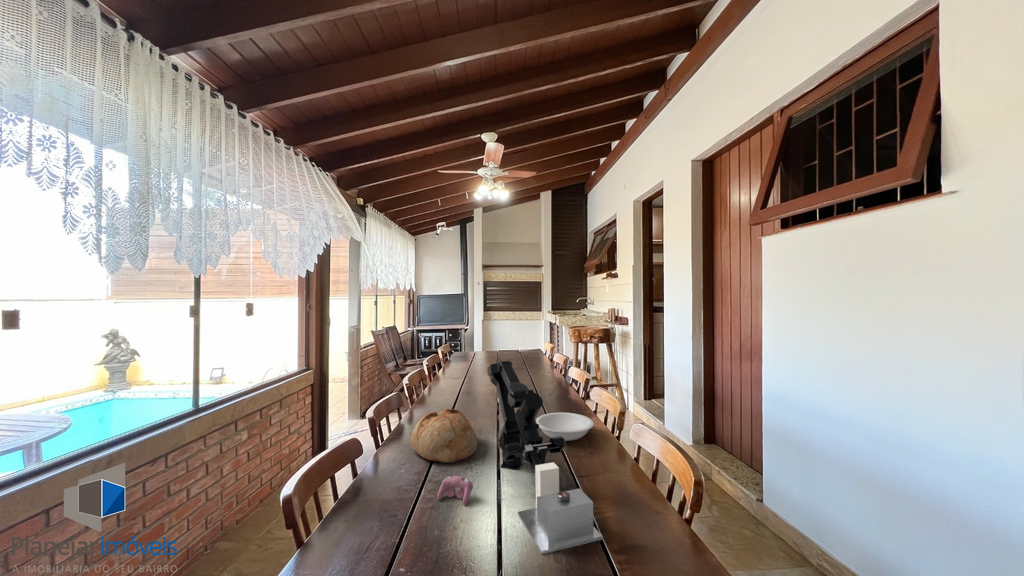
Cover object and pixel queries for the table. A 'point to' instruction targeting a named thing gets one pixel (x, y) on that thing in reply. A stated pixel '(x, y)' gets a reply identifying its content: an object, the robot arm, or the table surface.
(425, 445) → the bread
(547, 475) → the white rectangular block
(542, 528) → the mount
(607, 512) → the table surface
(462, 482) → the video game controller
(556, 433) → the soup bowl
